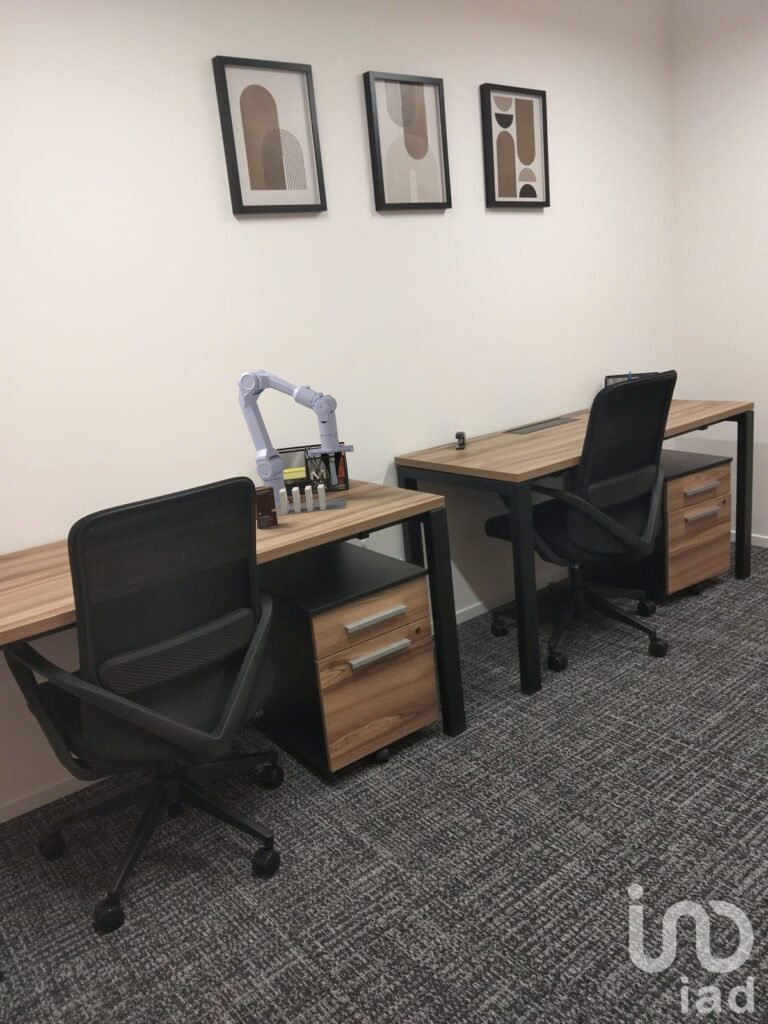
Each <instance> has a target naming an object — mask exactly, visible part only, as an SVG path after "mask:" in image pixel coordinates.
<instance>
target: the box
mask: <svg viewBox="0 0 768 1024" xmlns="http://www.w3.org/2000/svg"><path fill="white" fill-rule="evenodd" d="M255 488H256V520H257V528H256V529H257V530H264V529H268V528H272V527H275V526H278V525H279V523H278V516H277V508H276V505H275V498H274V490H273V487H272V486H268V485H266V486H263V485H261V486H257V487H255Z"/></svg>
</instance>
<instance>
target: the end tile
mask: <svg viewBox="0 0 768 1024" xmlns="http://www.w3.org/2000/svg"><path fill="white" fill-rule="evenodd" d="M330 471H331V477H330V479H331V485H332V486H333V485H334V486H335V485H338V482H339V481H338V476H336V467H335V460H330Z"/></svg>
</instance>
